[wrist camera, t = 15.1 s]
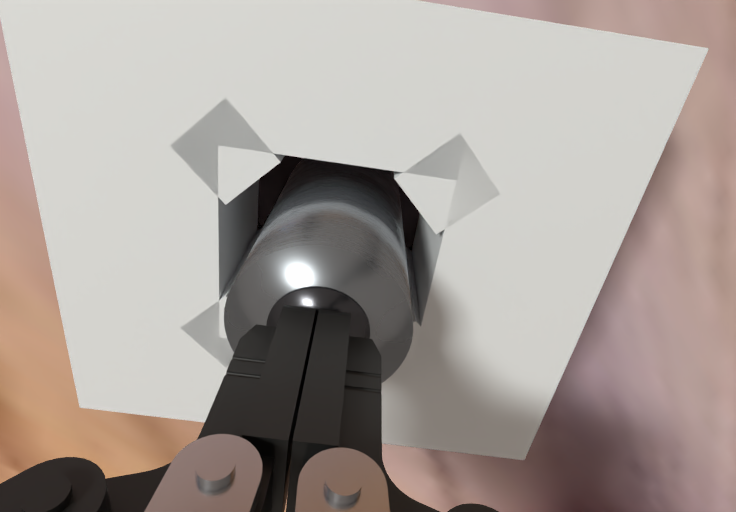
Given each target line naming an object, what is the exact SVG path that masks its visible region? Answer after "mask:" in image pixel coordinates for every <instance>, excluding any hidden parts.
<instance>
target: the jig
mask: <svg viewBox="0 0 736 512" xmlns="http://www.w3.org/2000/svg"><path fill="white" fill-rule="evenodd" d="M0 19H1V24H2V29H3V34H4V39H5V44H6V48H7V53H8V58H9V63H10V68H11V73H12V78H13V83H14V88H15V93H16V97H17V102H18V107H19V112H20V117H21V122H22V127H23V132H24V137H25V142H26V146H27V151H28V156H29V161H30V166H31V171H32V176H33V181H34V186H35V191H36V195H37V200H38V205H39V210H40V215H41V220H42V225H43V230H44V235H45V240H46V245H47V249H48V254H49V259H50V264H51V269H52V274H53V279H54V284H55V289H56V294H57V298H58V303H59V308H60V313H61V318H62V323H63V328H64V333H65V338H66V343H67V347H68V352H69V357H70V362H71V367H72V372H73V377H74V382H75V387H76V392H77V396H78V401H79V406H80V408H88V409H96V410H105V411H113V412H121V413H130V414H138V415H147V416H155V417H164V418H172V419H180V420H189V421H197V422H205V421H206V419H207V416H208V414H209V411H210V409H211V407H212V404H213V402H214V400H215V397H216V395H217V392H218V390H219V388H220V385H221V383H222V380H223V378H224V376H225V375H226V371H227V369H228V366H229V364H230V361H231V360H232V358H233V354H234V352H233V350H232V348H231V346H230V344H229V341H228V339H227V336H226V332H225V327H224V308H225V304H226V299H227V297H228V294H229V292H230V289H231V287H232V286H233V284H234V282H235V280H236V278H237V276H238V274H239V272H240V270H241V268H242V266H243V264H244V263H245V261H246V259H247V257H248V255H249V253H250V251H251V249H252V247H253V245H254V243H255V242H256V240H257V238H258V236H259V234H260V232H261V230H262V228H263V227H261V228H260V229H259V230H257V224H258V195H259V179H260V178H261V177H262V176H263V175H265V174H266V173H267V172H269V171H270V170H271V169H272V168H274V167H275V166H276V165H278V164H279V163H280V162H281V161H282V159H283V158H284V156H285V155H287V156H294V157H301V158H308V159H315V160H322V161H328V162H335V163H342V164H349V165H356V166H363V167H369V168H376V169H383V170H390V171H394V179H395V180H396V182H397V183H398V184H399V186H400V187H401V188H402V190H403V191H404V192H405V194H406V195H407V196H408V198H409V199H410V200H411V202H412V203H413V204H414V206H415V207H416V208H417V210H418V211H419V212H420V214H419V219H418V223H417V228H416V233H415V238H414V242H413V247H412V252H411V251H410V249H409V248H408V247H406V248H405V249H406V258H407V268H408V278H409V287H410V297H411V306H412V316H413V337H412V343H411V346H410V349H409V352H408V354H407V356H406V358H405V360H404V361H403V363H402V364H401V366H400V367H399V368H398V369H397V370H396V371H395V373H394V374H393V375H392V376H390V377H389V378H388V379H387V380H386V381H384V382H383V383H382V390H381V394H382V443H383V444H391V445H399V446H408V447H416V448H425V449H433V450H442V451H450V452H458V453H467V454H475V455H484V456H492V457H501V458H509V459H517V460H525V457H526V455H527V453H528V451H529V448H530V446H531V444H532V442H533V439H534V437H535V435H536V433H537V431H538V428H539V426H540V424H541V422H542V419H543V417H544V415H545V413H546V410H547V408H548V406H549V404H550V402H551V399H552V397H553V395H554V393H555V390H556V388H557V386H558V384H559V382H560V379H561V377H562V375H563V373H564V370H565V368H566V366H567V364H568V361H569V359H570V357H571V355H572V353H573V350H574V348H575V346H576V344H577V341H578V339H579V337H580V335H581V332H582V330H583V328H584V326H585V324H586V321H587V319H588V317H589V315H590V312H591V310H592V308H593V306H594V303H595V301H596V299H597V297H598V295H599V292H600V290H601V288H602V286H603V283H604V281H605V279H606V277H607V274H608V272H609V270H610V268H611V266H612V263H613V261H614V259H615V257H616V254H617V252H618V250H619V248H620V245H621V243H622V241H623V239H624V237H625V234H626V232H627V230H628V228H629V225H630V223H631V221H632V219H633V216H634V214H635V212H636V210H637V208H638V205H639V203H640V201H641V199H642V196H643V194H644V192H645V190H646V187H647V185H648V183H649V181H650V179H651V176H652V174H653V172H654V170H655V167H656V165H657V163H658V161H659V158H660V156H661V154H662V152H663V150H664V147H665V145H666V143H667V141H668V138H669V136H670V134H671V132H672V129H673V127H674V125H675V123H676V121H677V118H678V116H679V114H680V112H681V109H682V107H683V105H684V103H685V101H686V98H687V96H688V94H689V92H690V89H691V87H692V85H693V83H694V80H695V78H696V76H697V74H698V72H699V69H700V67H701V65H702V63H703V60H704V58H705V56H706V54H707V51H708V49H709V48H704V47H698V46H692V45H686V44H680V43H673V42H667V41H661V40H655V39H649V38H643V37H637V36H631V35H625V34H619V33H613V32H607V31H600V30H594V29H588V28H582V27H576V26H570V25H564V24H558V23H552V22H546V21H540V20H534V19H527V18H521V17H515V16H509V15H503V14H497V13H491V12H485V11H479V10H473V9H467V8H460V7H454V6H448V5H442V4H436V3H430V2H424V1H418V0H0Z"/></svg>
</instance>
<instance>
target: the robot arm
mask: <svg viewBox="0 0 736 512" xmlns="http://www.w3.org/2000/svg"><path fill="white" fill-rule="evenodd" d="M316 312H317V309H313V308H306V307H298V306H290V305H284V306H283V308H282V311H281V314H280V317H279V320H278V324H277V327H273V326H265V325H257V324H256V325H255V326H254V327H253V328H251V329H250V330H249V331H248V332H247V333H246V334H245V335H243V336H242V337H241V338H240V340H239V342H238V345H237V347H236V349H235V352H234V354H233V358H232V360H231V361H230V364H229V366H228V369H227V371H226V375H225V376H224V378H223V380H222V383H221V385H220V388H219V390H218V392H217V395H216V397H215V400H214V402H213V404H212V407H211V409H210V411H209V414H208V416H207V419H206V421H205V423H204V426H203V428H202V431H201V433H200V435H199V437H198V439H197V440H195V441H193V442H192V443H190V444H189V445H187V446H186V447H185V448H183V449H182V450H181V451H180V452H179V453H178V454H177V455H176V456H175V458H174V459H173V461H172V462H171V463H169V464H167V465H165V466H163V467H160V468H157V469H155V470H151V471H146V472H141V473H136V474H130V475H124V476H119V477H113V478H107V479H105V475H104V473H103V472H102V470H101V469H100V468H99V467H98V466H97V465H96V464H95V463H93V462H91V461H89V460H86V459H83V458H77V457H65V458H57V459H53V460H49V461H46V462H43V463H40V464H37V465H35V466H33V467H31V468H29V469H27V470H25V471H23V472H21V473H20V474H18V475H16V476H14V477H12V478H10V479H8V480H7V481H5V482H3V483H1V484H0V512H284V510H285V504H286V499H287V508H286V512H439V511H437V510H435V509H433V508H430V507H428V506H426V505H424V504H421V503H419V502H417V501H415V500H413V499H411V498H410V497H408V496H407V495H405V494H404V493H403V492H402V491H401V490H399V489H398V488H397V487H396V486H395V484H394V483H393V482H392V481H391V479H390V478H389V476H388V474H387V472H386V470H385V468H384V465H383V461H382V394H381V390H382V378H381V374H382V369H381V354H380V352H379V351H378V349H377V347H376V345H375V343H374V342H373V340H372V339H369V338H361V337H353V336H349V332H350V322H351V313H346V312H338V311H330V310H322V309H319V312H318V317H317V322H316ZM315 323H316V327H315ZM287 494H288V497H287ZM448 512H498V511H496V510H494V509H492V508H490V507H487V506H484V505H480V504H462V505H459V506H456V507H454V508H452V509H450V510H449V511H448Z"/></svg>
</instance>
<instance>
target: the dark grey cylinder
mask: <svg viewBox="0 0 736 512" xmlns="http://www.w3.org/2000/svg"><path fill="white" fill-rule="evenodd" d="M284 305H290V306H298V307H306V308H313V309H317V312H316V322H317V317H318V312H319V309H322V310H330V311H338V312H346V313H351V322H350V332H349V336H353V337H361V338H369V339H372V340H373V342H374V343H375V345H376V347H377V349H378V351H379V352H380V354H381V369H382V374H381V378H382V383H383V382H384V381H386V380H387V379H388V378H389V377H390V376H392V375H393V374H394V373H395V371H396V370H397V369H398V368H399V367H400V366H401V364H402V363H403V361H404V360H405V358H406V356H407V354H408V352H409V349H410V346H411V343H412V337H413V316H412V306H411V297H410V287H409V278H408V268H407V258H406V249H405V239H404V230H403V220H402V211H401V201H400V193H399V188H398V185H397V182H396V180H395V179H394V176H393V174H392V172H391V171H390V170H383V169H376V168H369V167H363V166H356V165H349V164H342V163H335V162H328V161H322V160H315V159H308V158H303V159H302V160H301V161H300V162H299V163H298V164H297V166H296V167H295V168H294V170H293V171H292V173H291V175H290V177H289V178H288V180H287V182H286V184H285V186H284V188H283V190H282V192H281V194H280V196H279V198H278V199H277V201H276V203H275V205H274V207H273V209H272V211H271V213H270V215H269V217H268V219H267V220H266V222H265V224H264V226H263V228H262V230H261V232H260V234H259V236H258V238H257V240H256V242H255V243H254V245H253V247H252V249H251V251H250V253H249V255H248V257H247V259H246V261H245V263H244V264H243V266H242V268H241V270H240V272H239V274H238V276H237V278H236V280H235V282H234V284H233V286H232V287H231V289H230V292H229V294H228V297H227V299H226V304H225V308H224V327H225V332H226V336H227V339H228V341H229V344H230V346H231V348H232V350H233V352H235V349H236V347H237V345H238V342H239V340H240V338H241V337H242V336H243V335H245V334H246V333H247V332H248V331H249V330H250V329H251V328H253V327H254V326H255V325H256V324H257V325H265V326H273V327H277V324H278V320H279V317H280V314H281V311H282V308H283V306H284ZM315 327H316V323H315Z"/></svg>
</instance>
